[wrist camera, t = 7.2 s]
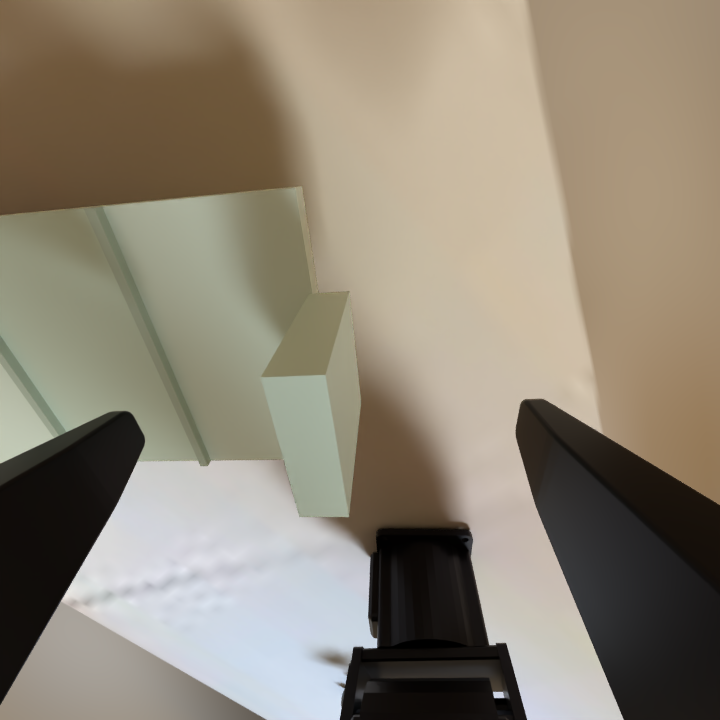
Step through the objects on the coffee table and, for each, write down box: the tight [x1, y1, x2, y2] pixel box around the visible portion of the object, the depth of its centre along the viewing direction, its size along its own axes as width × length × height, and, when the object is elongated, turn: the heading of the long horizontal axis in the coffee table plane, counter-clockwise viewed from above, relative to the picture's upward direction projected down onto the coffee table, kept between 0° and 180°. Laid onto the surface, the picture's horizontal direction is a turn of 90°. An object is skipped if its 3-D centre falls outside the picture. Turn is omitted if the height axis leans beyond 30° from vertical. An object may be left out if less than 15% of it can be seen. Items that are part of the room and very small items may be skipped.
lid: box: [0, 186, 361, 517], centre depth 10 cm, size 18×10×5 cm, turn 95°
